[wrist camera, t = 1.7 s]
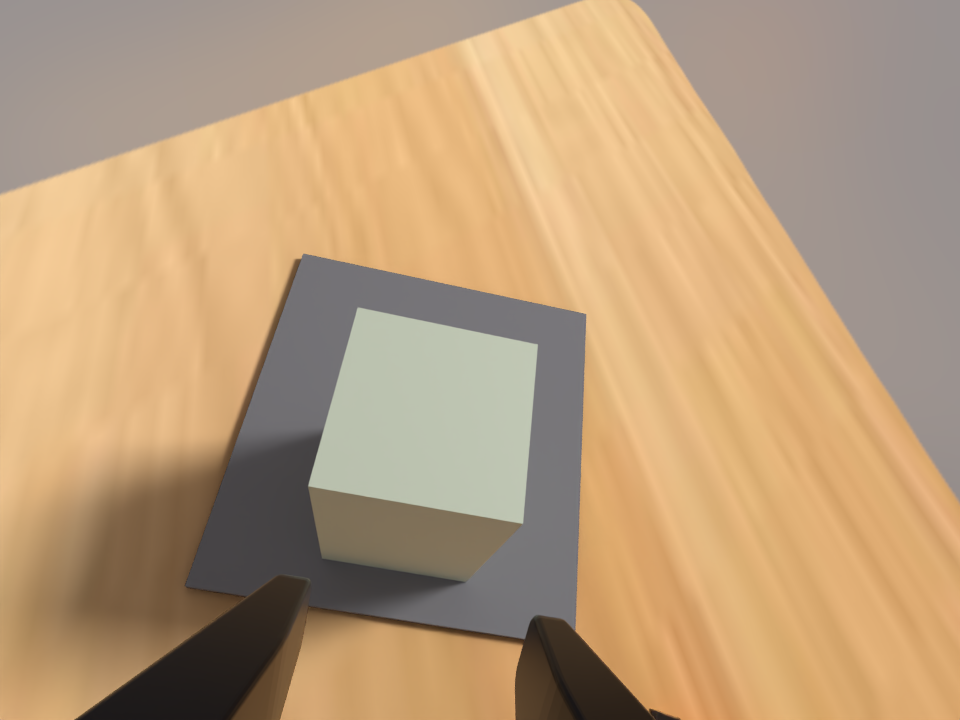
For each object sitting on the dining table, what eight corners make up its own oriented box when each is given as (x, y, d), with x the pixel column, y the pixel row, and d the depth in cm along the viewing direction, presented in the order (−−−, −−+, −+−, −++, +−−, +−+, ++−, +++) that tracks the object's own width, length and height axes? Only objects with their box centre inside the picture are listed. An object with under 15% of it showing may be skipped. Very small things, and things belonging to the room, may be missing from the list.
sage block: (466, 581, 21) (523, 524, 14) (321, 558, 20) (308, 486, 13) (482, 448, 23) (537, 344, 16) (355, 425, 23) (357, 307, 16)
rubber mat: (571, 646, 21) (574, 646, 20) (186, 587, 19) (184, 586, 19) (583, 317, 28) (586, 314, 28) (303, 257, 27) (303, 253, 26)
